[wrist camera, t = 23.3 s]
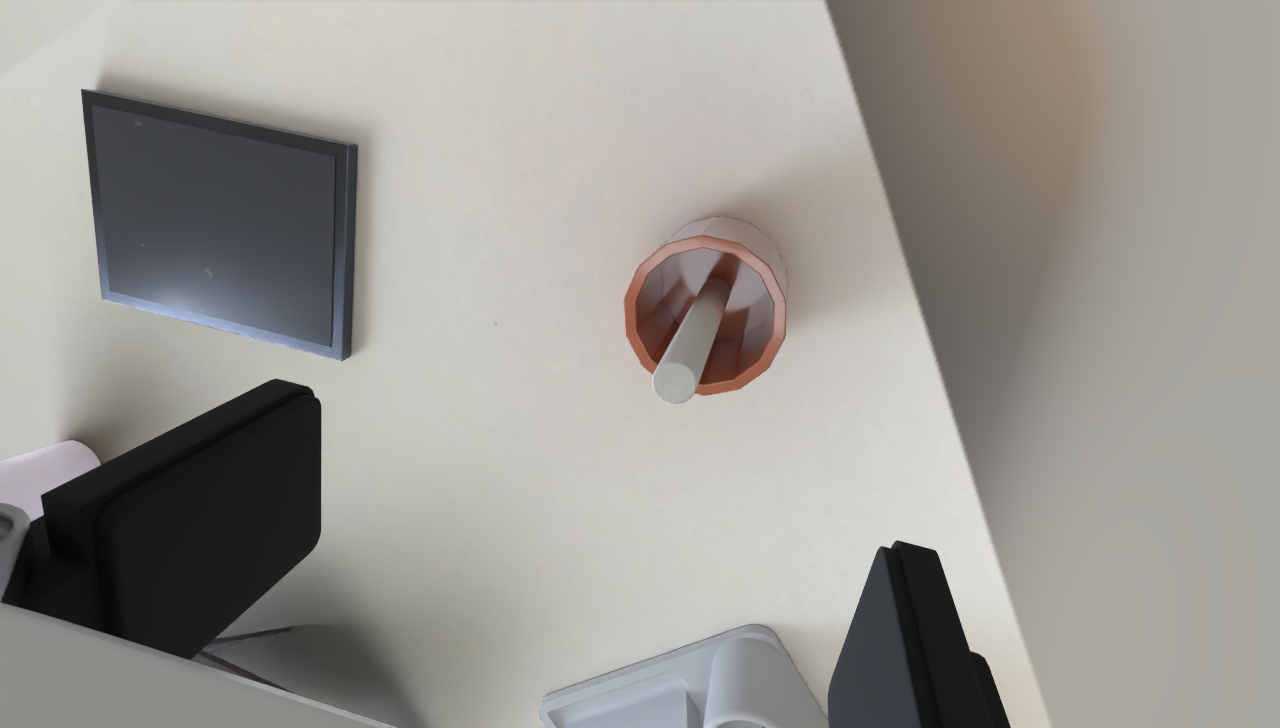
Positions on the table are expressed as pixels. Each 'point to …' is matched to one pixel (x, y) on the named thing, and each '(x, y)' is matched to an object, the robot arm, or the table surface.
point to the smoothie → (42, 473)
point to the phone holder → (695, 689)
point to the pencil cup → (749, 314)
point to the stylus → (691, 344)
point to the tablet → (223, 221)
